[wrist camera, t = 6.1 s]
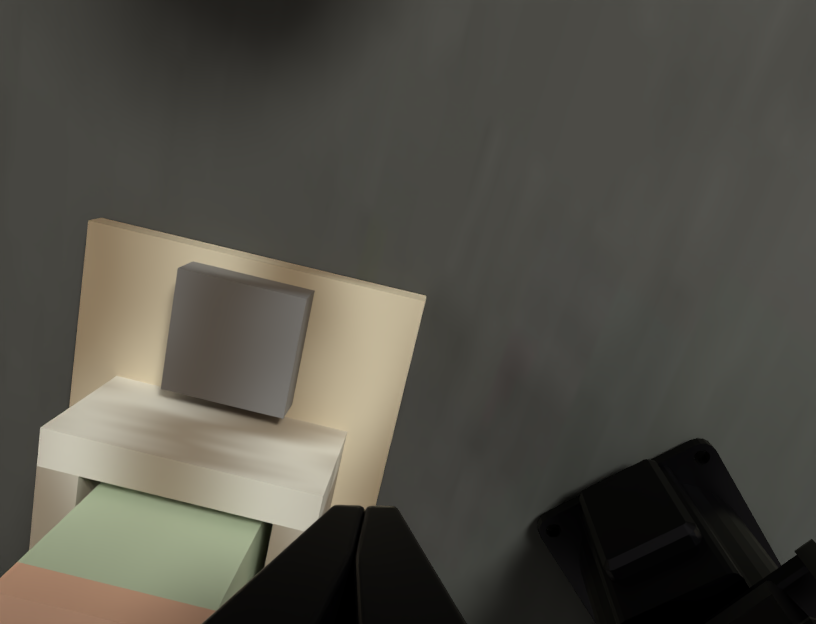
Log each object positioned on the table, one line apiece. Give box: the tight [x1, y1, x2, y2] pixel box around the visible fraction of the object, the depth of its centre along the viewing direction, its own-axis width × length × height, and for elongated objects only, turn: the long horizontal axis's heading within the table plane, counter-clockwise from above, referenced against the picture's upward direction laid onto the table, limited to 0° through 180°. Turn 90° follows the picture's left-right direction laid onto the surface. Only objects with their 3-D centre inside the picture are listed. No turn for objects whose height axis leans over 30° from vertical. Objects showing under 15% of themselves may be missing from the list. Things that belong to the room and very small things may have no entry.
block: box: [0, 482, 273, 624], centre depth 19 cm, size 5×5×8 cm
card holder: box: [29, 218, 426, 566], centre depth 21 cm, size 11×18×5 cm, turn 167°
